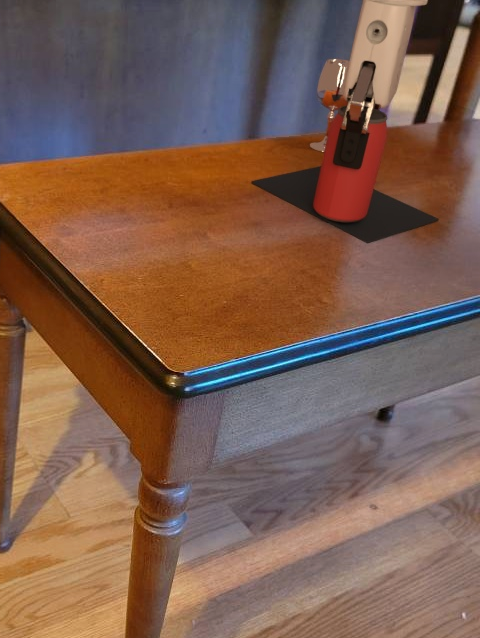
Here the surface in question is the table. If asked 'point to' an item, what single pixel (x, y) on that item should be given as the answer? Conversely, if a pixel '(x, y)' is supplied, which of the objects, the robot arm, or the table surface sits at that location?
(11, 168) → the table surface
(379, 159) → the beer can
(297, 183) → the mat
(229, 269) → the table surface
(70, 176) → the table surface
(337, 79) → the wineglass
